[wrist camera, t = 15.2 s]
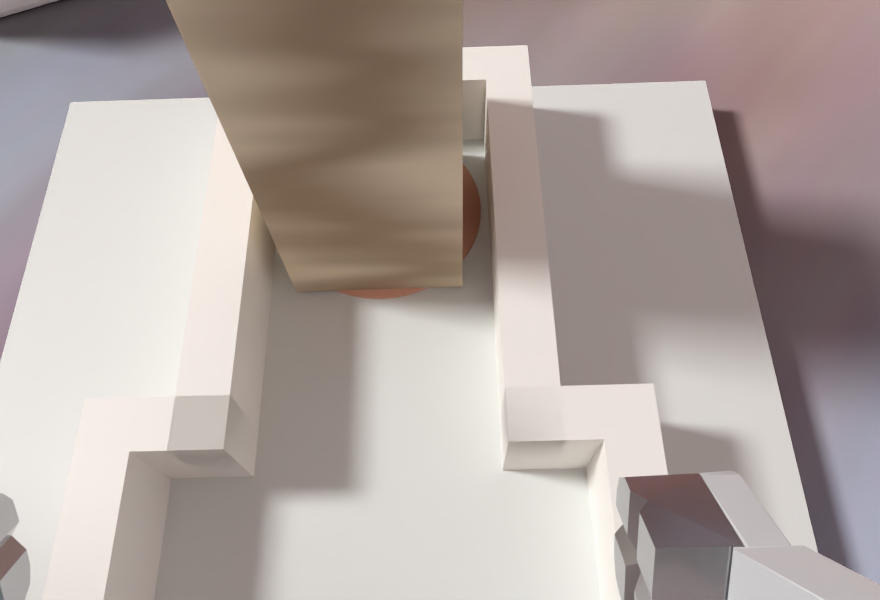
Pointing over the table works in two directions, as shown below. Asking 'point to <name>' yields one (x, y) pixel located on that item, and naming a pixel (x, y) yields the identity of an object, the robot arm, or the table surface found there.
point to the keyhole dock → (384, 362)
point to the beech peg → (343, 131)
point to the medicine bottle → (20, 5)
